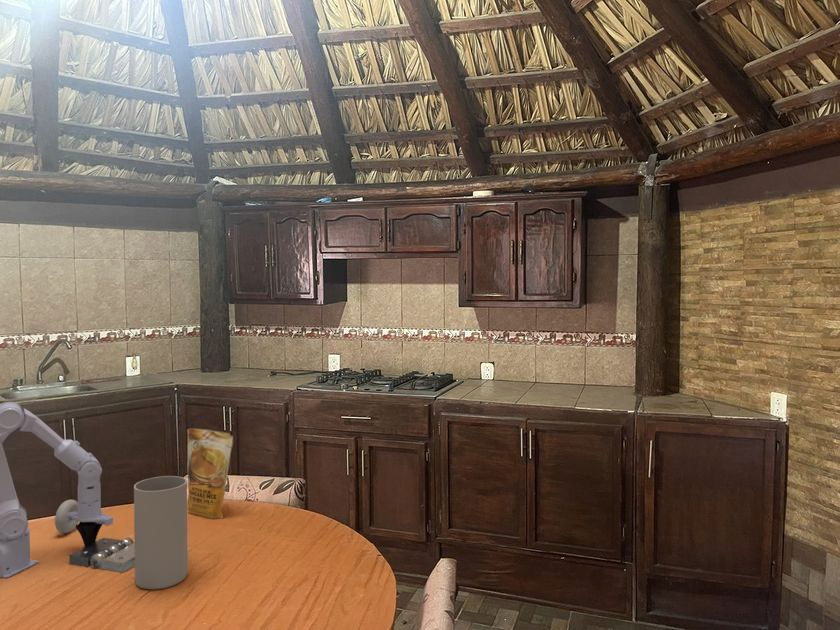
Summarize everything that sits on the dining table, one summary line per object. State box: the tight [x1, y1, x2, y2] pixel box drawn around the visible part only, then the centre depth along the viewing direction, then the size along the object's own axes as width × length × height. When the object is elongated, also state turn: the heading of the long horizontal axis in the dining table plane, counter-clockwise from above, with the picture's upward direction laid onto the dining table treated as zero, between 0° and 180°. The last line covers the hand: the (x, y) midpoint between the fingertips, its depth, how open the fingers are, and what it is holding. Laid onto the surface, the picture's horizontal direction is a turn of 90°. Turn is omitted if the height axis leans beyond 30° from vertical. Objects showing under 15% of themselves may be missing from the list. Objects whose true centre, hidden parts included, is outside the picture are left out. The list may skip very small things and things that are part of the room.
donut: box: [54, 499, 79, 535], centre depth 185 cm, size 10×4×10 cm, turn 179°
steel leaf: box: [90, 537, 135, 574], centre depth 166 cm, size 13×11×4 cm
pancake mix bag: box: [186, 427, 234, 520], centre depth 201 cm, size 7×19×28 cm, turn 62°
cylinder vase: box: [133, 475, 189, 591], centre depth 155 cm, size 12×12×25 cm
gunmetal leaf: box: [68, 537, 126, 568], centre depth 168 cm, size 12×10×4 cm
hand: (89, 547), depth 172 cm, fingers closed
